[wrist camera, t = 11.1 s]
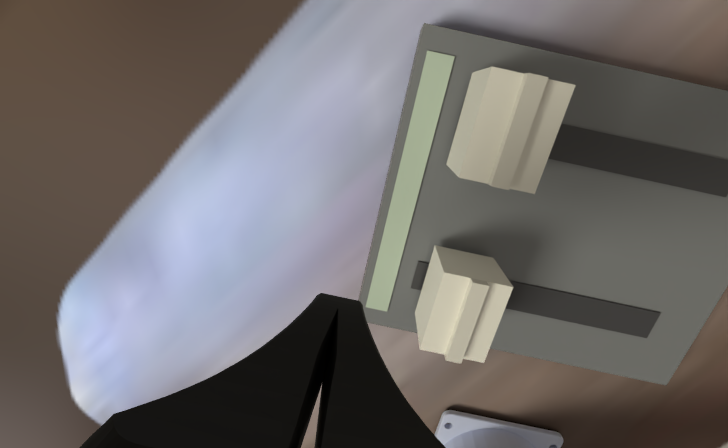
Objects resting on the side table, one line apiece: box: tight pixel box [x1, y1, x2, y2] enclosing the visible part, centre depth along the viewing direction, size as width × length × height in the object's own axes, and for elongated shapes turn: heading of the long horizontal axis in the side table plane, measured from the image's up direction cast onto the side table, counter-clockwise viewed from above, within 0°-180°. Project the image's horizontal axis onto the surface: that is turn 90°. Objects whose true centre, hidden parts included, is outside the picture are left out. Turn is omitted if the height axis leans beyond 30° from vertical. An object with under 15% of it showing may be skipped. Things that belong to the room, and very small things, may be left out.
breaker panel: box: [358, 23, 728, 385], centre depth 19 cm, size 15×18×2 cm
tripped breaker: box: [446, 67, 576, 194], centre depth 14 cm, size 4×3×3 cm
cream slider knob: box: [415, 245, 513, 364], centre depth 17 cm, size 4×3×3 cm
